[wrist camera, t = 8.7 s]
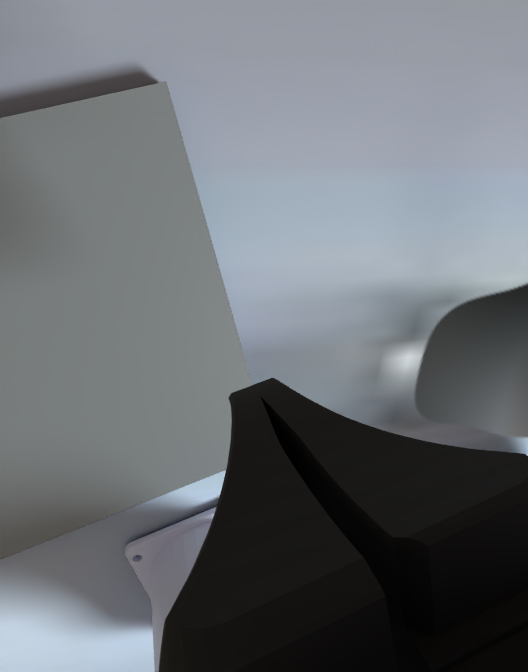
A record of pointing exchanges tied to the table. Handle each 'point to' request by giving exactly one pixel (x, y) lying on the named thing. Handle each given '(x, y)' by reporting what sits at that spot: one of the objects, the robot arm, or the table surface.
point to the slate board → (106, 317)
